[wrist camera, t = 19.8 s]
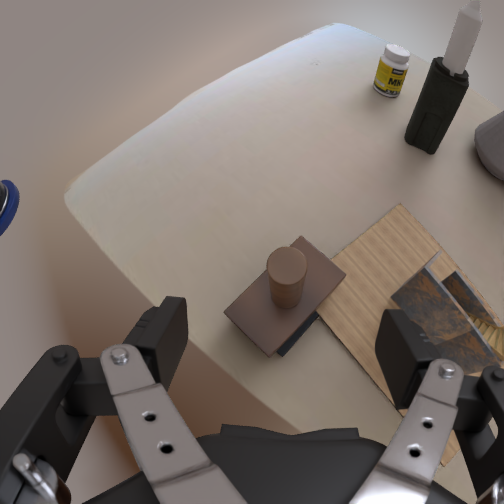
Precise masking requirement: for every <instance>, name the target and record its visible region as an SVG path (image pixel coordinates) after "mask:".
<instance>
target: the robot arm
mask: <svg viewBox="0 0 504 504" xmlns="http://www.w3.org/2000/svg"><path fill="white" fill-rule="evenodd" d="M8 201H9V190H8V188H7V187H6V186H5V185H4V184H3V183H2V182H1V181H0V218H1V217H2V215H3V213H4V211H5V209H6V207H7V204H8ZM426 335H427V334H426V333H425V331H424V330H423V328H422V327H421V326H419V325H418V324H417V323H415V322H414V321H410V319H409V318H408V316H407V315H406V313H405V312H404V310H403V309H385V310H384V311H383V314H382V318H381V322H380V326H379V329H378V333H377V337H376V341H375V355H376V358H377V360H378V363H379V365H380V368H381V370H382V373H383V375H384V378H385V381H386V383H387V386H388V388H389V391H390V394H391V396H392V399H393V402H394V405H395V407H396V410H402V409H408V411H407V413H406V415H405V416H404V418H403V420H402V422H401V424H400V426H399V427H398V429H397V431H396V433H395V435H394V436H393V438H392V440H391V441H390V443H389V445H388V447H387V446H385V445H383V444H381V443H379V442H376V441H374V440H371V439H367V438H362V437H359V433H358V428H337V429H322V430H317V431H313V432H308V433H302V434H297V435H287V434H282V433H277V432H274V431H270V430H266V429H262V428H258V427H250V426H238V425H227V424H222V427H221V432H220V433H218V434H210V435H205V436H202V437H198V438H196V439H195V437H194V436H193V434H192V433H191V431H190V430H189V428H188V426H187V425H186V423H185V422H184V420H183V419H182V417H181V415H180V414H179V412H178V411H177V409H176V407H175V406H174V404H173V402H172V401H171V399H170V397H169V396H168V394H167V391H168V388H169V386H170V384H171V381H172V379H173V376H174V373H175V371H176V369H177V367H178V364H179V362H180V359H181V357H182V355H183V352H184V350H185V347H186V345H187V341H188V320H187V304H186V299H185V298H183V297H172V296H166V298H165V299H164V300H163V302H162V303H161V305H160V306H159V307H152V308H150V309H149V310H147V311H146V312H144V314H143V315H142V316H141V318H140V320H139V321H138V322H137V323H136V325H135V327H134V328H133V329H132V330H131V332H130V333H129V335H128V336H127V337H126V339H125V340H124V342H123V343H122V344H116V345H113V346H110V347H108V348H106V349H105V350H104V351H103V352H102V353H101V355H100V357H98V358H80V357H79V354H78V351H77V350H76V348H74V347H72V346H69V345H59V346H55V347H52V348H50V349H49V350H47V351H46V352H45V353H44V355H43V356H42V357H41V358H40V360H39V361H38V362H37V363H36V364H35V366H34V367H33V368H32V369H31V371H30V372H29V373H28V374H27V376H26V377H25V378H24V379H23V381H22V382H21V383H20V384H19V386H18V387H17V388H16V390H15V391H14V392H13V394H12V395H11V396H10V398H9V399H8V400H7V402H6V403H5V404H4V406H3V407H2V408H1V410H0V504H70V503H71V493H70V490H69V488H68V487H67V486H66V484H65V483H66V480H67V478H68V476H69V473H70V471H71V469H72V467H73V465H74V463H75V460H76V458H77V456H78V454H79V452H80V449H81V447H82V445H83V443H84V441H85V439H86V437H87V435H88V432H89V430H90V428H91V426H92V424H93V422H94V420H95V418H96V416H99V415H102V416H105V415H118V418H119V421H120V423H121V426H122V428H123V431H124V433H125V436H126V438H127V441H128V443H129V445H130V447H131V450H132V452H133V455H134V457H135V459H136V461H137V464H138V466H139V468H140V470H141V471H140V472H139V473H137V474H135V475H134V476H132V477H130V478H128V479H127V480H125V481H123V482H121V483H119V484H118V485H116V486H114V487H112V488H110V489H109V490H107V491H105V492H103V493H101V494H100V495H97V496H96V497H94V498H92V499H90V500H88V501H86V502H84V503H82V504H467V503H466V502H464V501H463V500H461V499H460V498H458V497H457V496H455V495H454V494H452V493H451V492H449V491H448V490H446V489H445V488H444V487H442V486H441V485H439V484H438V483H436V482H435V481H434V480H433V478H434V475H435V473H436V471H437V468H438V466H439V463H440V461H441V458H442V456H443V453H444V450H445V448H446V445H447V442H448V439H449V436H450V434H451V431H452V430H454V432H455V435H456V438H457V440H458V443H459V445H460V448H461V451H462V454H463V456H464V459H465V462H466V465H467V468H468V471H469V474H470V477H471V480H472V483H473V486H474V489H475V492H476V495H477V501H476V504H504V369H503V368H500V367H498V366H487V367H485V368H484V369H483V371H482V373H481V375H480V377H478V376H470V375H464V372H463V369H462V368H461V367H460V366H459V365H458V364H457V363H455V362H453V361H451V360H448V359H442V357H441V356H440V354H439V353H438V351H437V350H436V348H435V346H434V345H433V343H432V342H430V339H429V337H428V336H426ZM492 417H493V418H494V420H495V422H496V424H497V426H498V435H497V438H496V439H495V437H494V435H493V433H492V431H491V428H490V426H489V424H488V423H489V422H490V420H491V419H492Z"/></svg>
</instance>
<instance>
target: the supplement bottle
mask: <svg viewBox="0 0 504 504" xmlns="http://www.w3.org/2000/svg"><path fill="white" fill-rule="evenodd" d="M409 56H410V53H409V52H408V51H407V50H406V49H404V48H402V47H400V46H398V45H394V44H388V45H386V47H385V52H384V54H382V55H381V57H380V61H379V65H378V69H377V73H376V76H375V80H374V84H373V86H374V88H375V89H376V90H377V91H378V92H379V93H381V94H383V95H385V96H388V97H396V96H398V95H399V94H400V91H401V88H402V85H403V82H404V79H405V76H406V73H407V70H408V63H407V62H408V60H409Z"/></svg>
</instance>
